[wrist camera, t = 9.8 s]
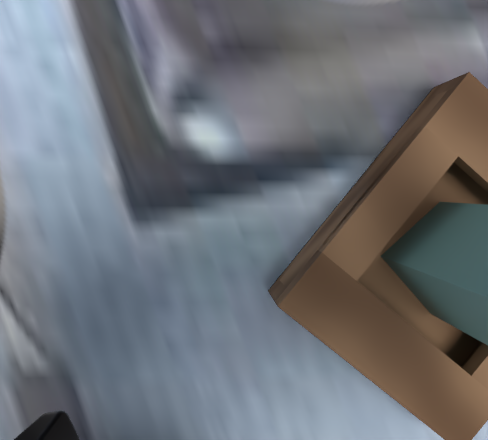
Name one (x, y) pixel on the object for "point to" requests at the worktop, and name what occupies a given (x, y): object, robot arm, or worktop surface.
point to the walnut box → (386, 280)
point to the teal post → (448, 265)
